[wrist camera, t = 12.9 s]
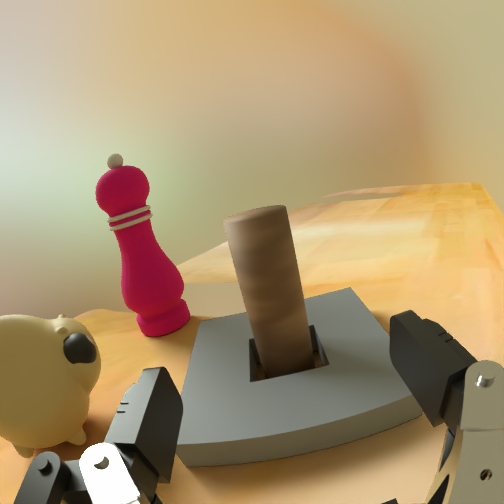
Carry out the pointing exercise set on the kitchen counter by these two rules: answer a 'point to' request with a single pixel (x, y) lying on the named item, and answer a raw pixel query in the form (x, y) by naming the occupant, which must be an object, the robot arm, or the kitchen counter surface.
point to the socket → (290, 389)
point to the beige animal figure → (45, 381)
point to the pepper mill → (141, 251)
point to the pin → (271, 288)
